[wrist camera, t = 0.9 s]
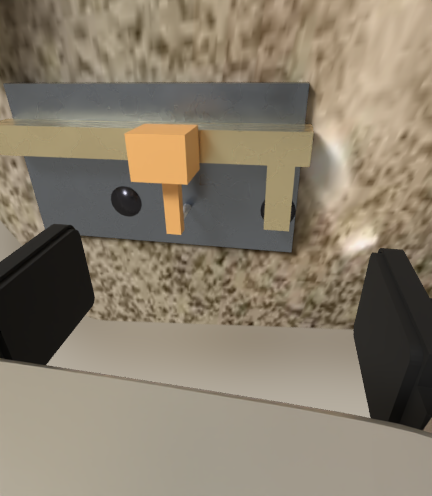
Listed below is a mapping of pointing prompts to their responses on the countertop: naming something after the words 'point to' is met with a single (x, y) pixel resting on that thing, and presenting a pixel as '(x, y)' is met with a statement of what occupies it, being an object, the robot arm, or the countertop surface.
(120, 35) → the countertop surface
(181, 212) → the sliding head
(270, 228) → the drilled steel plate with beam
